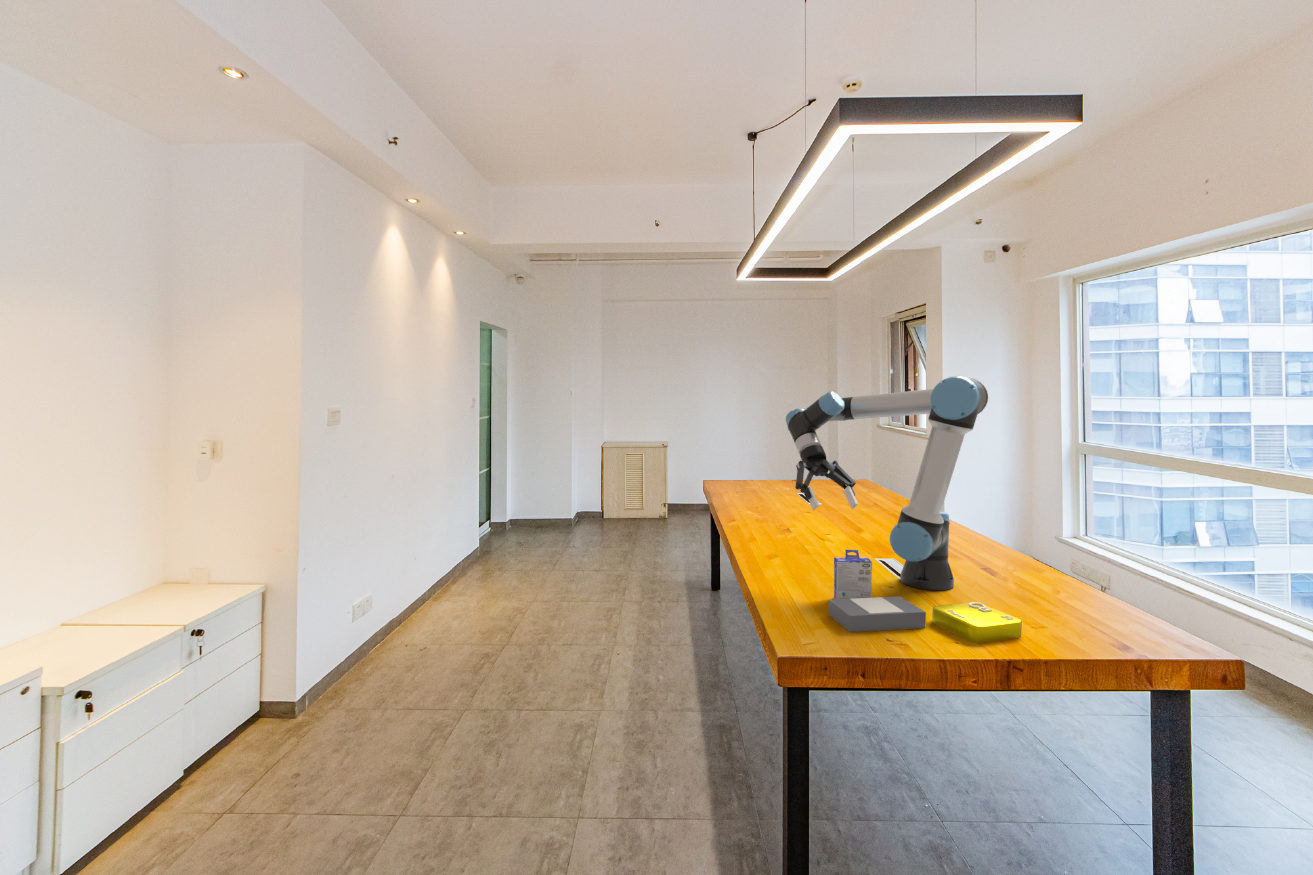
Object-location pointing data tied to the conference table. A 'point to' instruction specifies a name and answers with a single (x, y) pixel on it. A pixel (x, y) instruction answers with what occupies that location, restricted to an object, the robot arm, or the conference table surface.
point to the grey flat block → (876, 614)
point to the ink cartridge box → (852, 576)
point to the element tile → (976, 622)
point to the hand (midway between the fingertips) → (835, 507)
